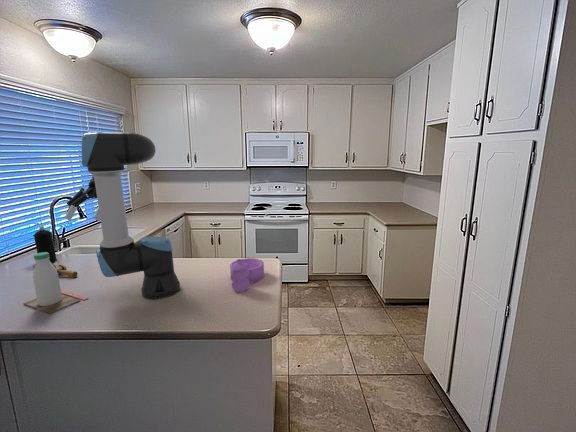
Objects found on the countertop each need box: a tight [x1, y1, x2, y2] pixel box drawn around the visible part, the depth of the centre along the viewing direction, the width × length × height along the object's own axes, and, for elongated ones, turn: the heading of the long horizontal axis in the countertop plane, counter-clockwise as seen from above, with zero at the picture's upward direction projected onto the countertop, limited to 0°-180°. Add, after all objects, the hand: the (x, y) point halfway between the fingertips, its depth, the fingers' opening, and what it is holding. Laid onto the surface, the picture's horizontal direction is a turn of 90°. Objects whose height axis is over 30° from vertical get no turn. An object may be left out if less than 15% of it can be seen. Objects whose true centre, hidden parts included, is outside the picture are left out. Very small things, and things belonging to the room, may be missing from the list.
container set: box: [229, 257, 265, 293], centre depth 140 cm, size 25×15×13 cm, turn 176°
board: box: [23, 294, 81, 315], centre depth 125 cm, size 18×11×1 cm, turn 64°
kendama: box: [51, 263, 79, 279], centre depth 152 cm, size 8×6×18 cm
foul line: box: [61, 289, 89, 302], centre depth 131 cm, size 20×2×1 cm, turn 64°
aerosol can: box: [33, 225, 58, 264], centre depth 172 cm, size 8×8×20 cm
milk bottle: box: [32, 252, 63, 306], centre depth 122 cm, size 8×8×20 cm
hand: (81, 219), depth 138 cm, fingers open, 13 cm apart
